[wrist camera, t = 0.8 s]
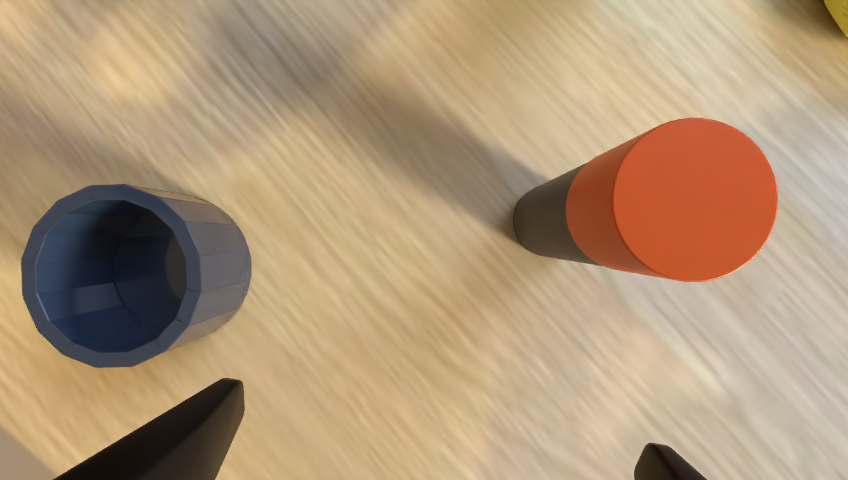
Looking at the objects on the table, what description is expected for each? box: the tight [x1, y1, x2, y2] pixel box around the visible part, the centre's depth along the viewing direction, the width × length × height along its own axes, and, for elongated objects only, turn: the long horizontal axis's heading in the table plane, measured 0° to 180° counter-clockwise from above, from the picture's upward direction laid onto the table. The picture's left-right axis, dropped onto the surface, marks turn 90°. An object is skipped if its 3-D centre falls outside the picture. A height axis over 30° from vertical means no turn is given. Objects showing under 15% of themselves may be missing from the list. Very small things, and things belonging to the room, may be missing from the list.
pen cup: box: [21, 184, 251, 368], centre depth 20 cm, size 8×8×5 cm
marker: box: [513, 118, 778, 282], centre depth 16 cm, size 4×4×12 cm
